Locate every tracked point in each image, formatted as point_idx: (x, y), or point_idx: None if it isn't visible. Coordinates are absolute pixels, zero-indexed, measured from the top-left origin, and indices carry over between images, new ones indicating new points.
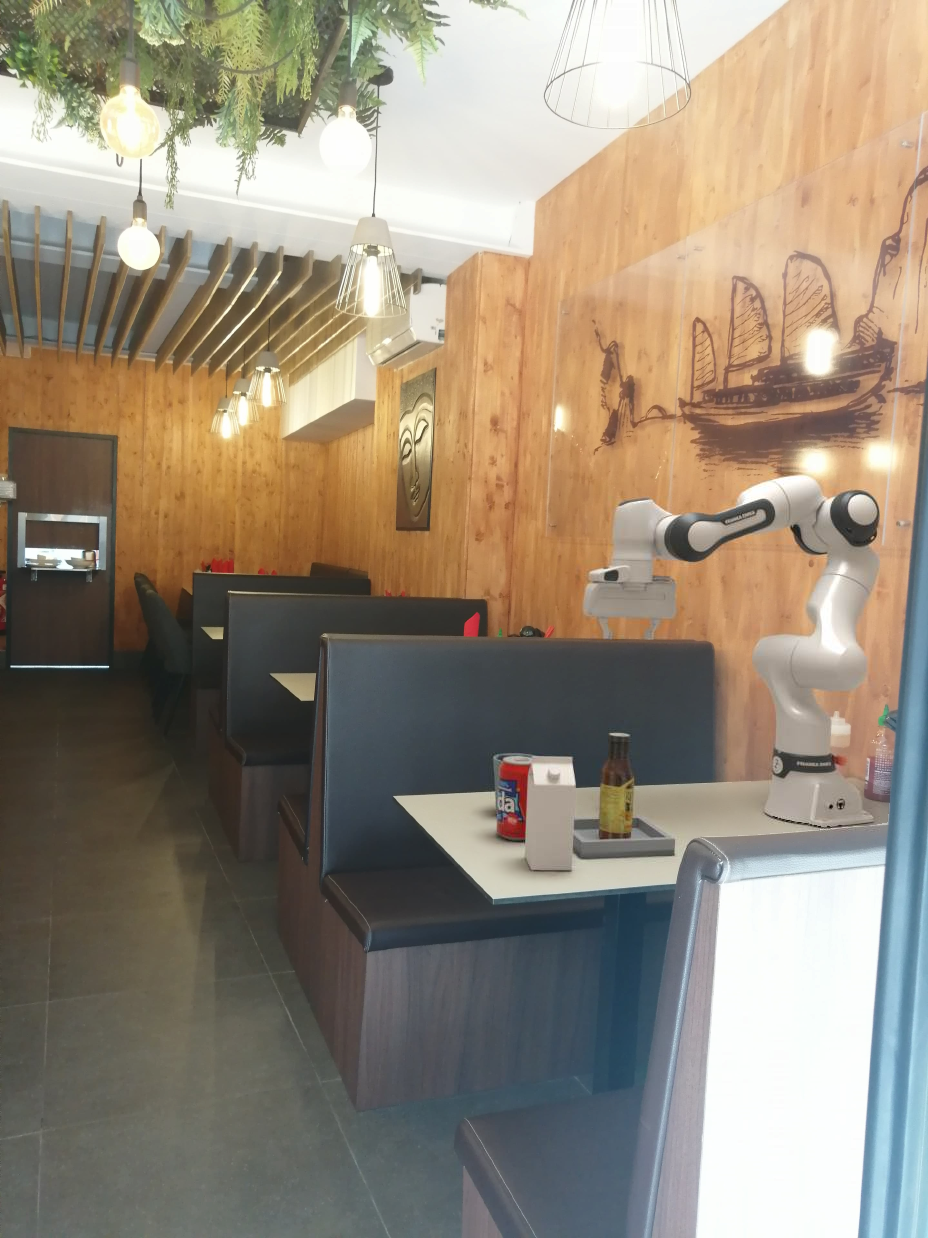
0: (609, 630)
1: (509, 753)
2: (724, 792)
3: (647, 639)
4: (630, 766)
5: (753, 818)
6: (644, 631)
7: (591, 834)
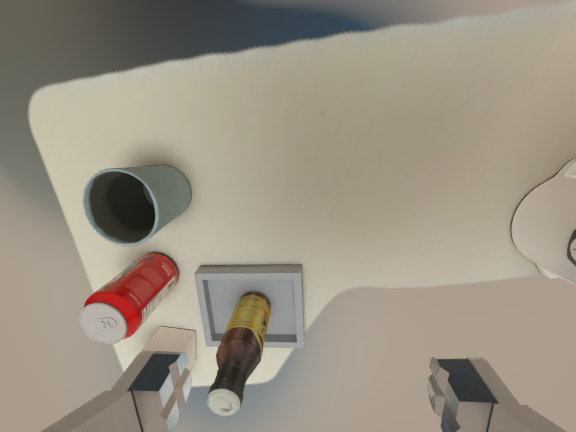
0: (148, 423)
1: (108, 170)
2: (543, 79)
3: (431, 387)
4: (250, 374)
5: (480, 228)
6: (456, 397)
7: (234, 290)
